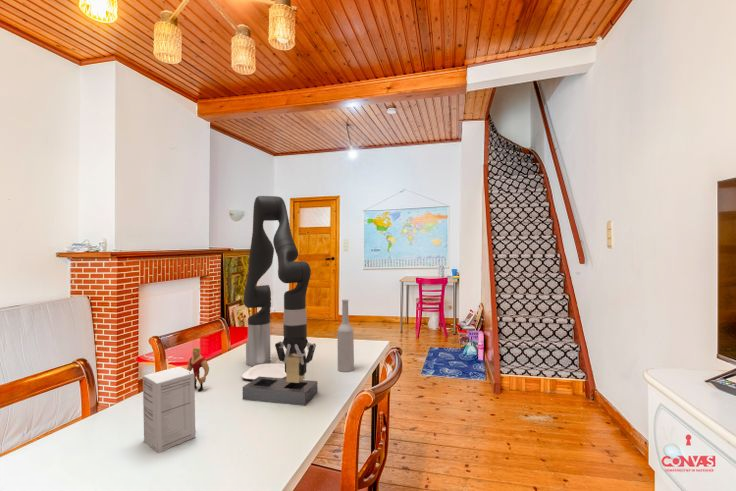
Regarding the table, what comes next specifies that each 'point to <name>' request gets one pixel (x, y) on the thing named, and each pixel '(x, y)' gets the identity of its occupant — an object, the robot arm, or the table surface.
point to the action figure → (198, 367)
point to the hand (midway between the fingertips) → (295, 374)
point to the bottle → (345, 342)
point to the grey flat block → (280, 391)
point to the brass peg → (293, 369)
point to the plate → (265, 371)
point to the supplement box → (168, 408)
